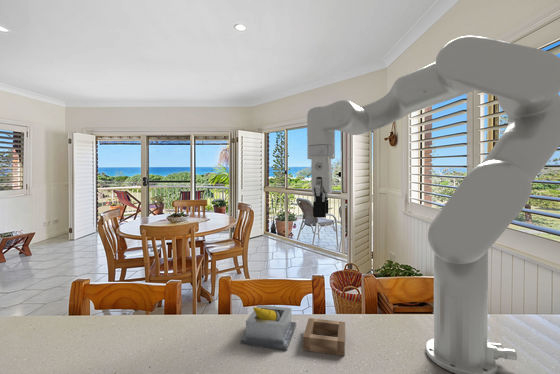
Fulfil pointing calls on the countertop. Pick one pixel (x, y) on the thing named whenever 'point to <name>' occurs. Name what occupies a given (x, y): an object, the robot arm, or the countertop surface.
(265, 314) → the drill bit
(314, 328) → the socket block
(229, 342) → the countertop surface
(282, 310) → the grey hollow square block
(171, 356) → the countertop surface
